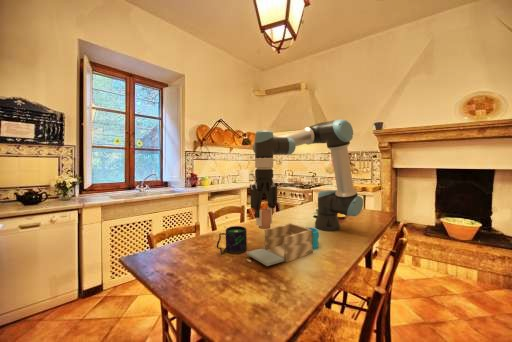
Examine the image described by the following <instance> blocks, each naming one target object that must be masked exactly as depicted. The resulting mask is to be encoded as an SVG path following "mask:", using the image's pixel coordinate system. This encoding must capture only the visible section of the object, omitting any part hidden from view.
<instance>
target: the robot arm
mask: <svg viewBox="0 0 512 342" xmlns="http://www.w3.org/2000/svg"><path fill="white" fill-rule="evenodd" d="M353 136H354V129H353V126H352V124H351V123H350V122H349V121H348V120H347V119H334V120H331V121H329V120H328V121H324V122H319V123H315V124H313V125H310V126H307V127H304V128H303V129H301V130H298V131H294V132H289V133H285V134H281V135H277V136H274V132H273V131H272V130H259V131H256V132H255V133H254V142H253V144H252V150H253V153H254V158H255V159H254V162H255V163H254V165H255V166H254V168H255V170H254V172H255V173H254V177H255V182H254V183H253V184H249V189H250V209H253V210H254V217H255V218H256V221H255V222H256V226H258V227H259V226H262V210H263V209H261V207H262V200H263V197H264V196H263V195H264V193H265V197H266V203H267V206H268V207H266V210H270V225H271V224H273V216H274V209H275V208H276V207H277V205H278V187H279V186H278V185H279V183H278V182H275V181H274V180H273V178H274V170H273V168H274V155H275V156H276V155H277V156H278V155H285V156H287V155H292V154H294V152H295V151H296V148H297V147H299V146H302V145H311V144H326V148H327V149H329V150H330V154H331V160H332V165H333V172H334V173H333V174H334V179H335V185H336V190H332V189H331V190H322V191H321V190H320V191H319V192H318V193H317V216H316V219H315V221H314V228H315V229H317V230H320V231H325V232H336V231H337V232H338V231H339V230H341V223H340V220H339V216H338V214H340V215H344V216H347V217H357V216H359V215H360V214H361V212H362V210H363V208H364V198H363V196H360V195H358V190H356V188H354V183H353V177H352V170H351V168H352V167H351V162H350V157H349V155H350V154H349V149H348V148H349V145H350V144H351V141H352V140H353Z"/></svg>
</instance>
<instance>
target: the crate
mask: <svg viewBox="0 0 512 342" xmlns="http://www.w3.org/2000/svg"><path fill="white" fill-rule="evenodd" d="M308 228H309V227H304V226H300V225H297V224H294V223H287V224H283V225H279V226H275V227H270V228H269V229H264V249H266V250H268V251H270V252H273V253H275V254H277V255H279V256H281V257H283V258H285V261H283V262H284V263H289V262H292V261H294V260H297V259H300V258H301V257H305V256H307V255H310V254H312V253H314V252H313V251H314V249H313V230H311V229H308Z"/></svg>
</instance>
